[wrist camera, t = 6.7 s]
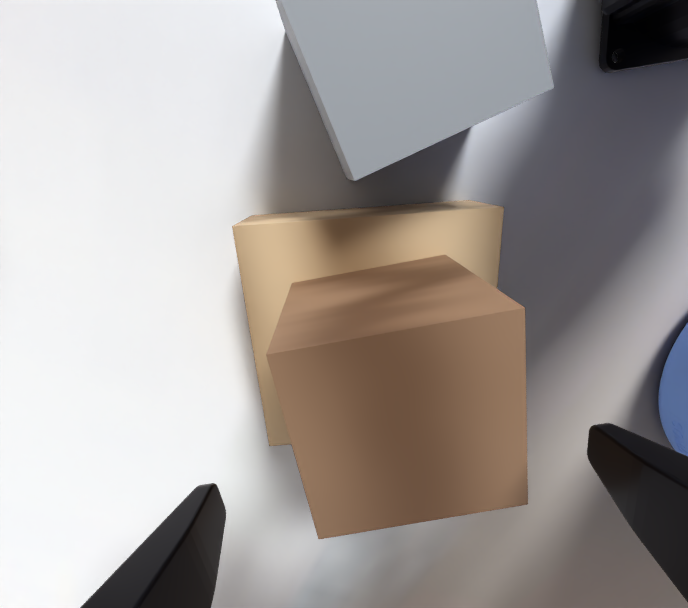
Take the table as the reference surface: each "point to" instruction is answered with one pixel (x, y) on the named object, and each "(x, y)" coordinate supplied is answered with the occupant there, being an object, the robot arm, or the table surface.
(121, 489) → the table surface
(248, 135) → the table surface
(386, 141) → the slate cube
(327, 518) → the walnut cube
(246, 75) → the table surface
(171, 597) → the robot arm
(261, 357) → the oak slab
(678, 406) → the water jug
